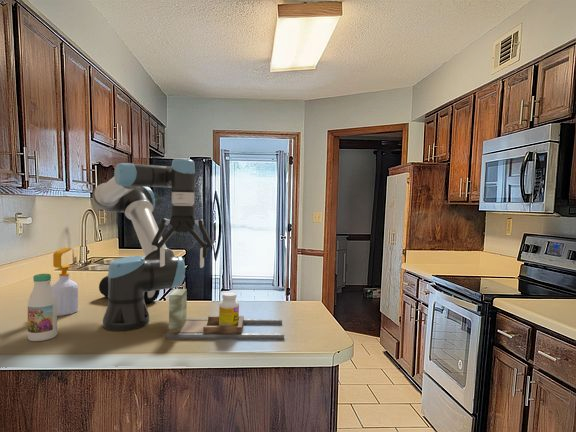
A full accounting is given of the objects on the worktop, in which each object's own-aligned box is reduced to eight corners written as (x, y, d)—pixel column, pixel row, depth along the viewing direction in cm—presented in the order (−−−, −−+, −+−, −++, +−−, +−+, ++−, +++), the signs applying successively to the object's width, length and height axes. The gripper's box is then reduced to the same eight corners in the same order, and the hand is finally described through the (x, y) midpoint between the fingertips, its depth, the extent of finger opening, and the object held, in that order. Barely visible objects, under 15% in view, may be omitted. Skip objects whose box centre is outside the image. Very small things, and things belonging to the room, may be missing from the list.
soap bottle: (83, 310, 143) (83, 248, 141) (60, 317, 134) (59, 251, 133) (68, 307, 146) (67, 246, 145) (44, 313, 138) (44, 249, 137)
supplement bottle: (234, 335, 122) (235, 297, 122) (215, 333, 124) (216, 295, 123) (240, 328, 129) (241, 292, 128) (222, 326, 130) (223, 290, 129)
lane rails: (165, 339, 117) (165, 334, 117) (177, 322, 133) (177, 318, 133) (284, 339, 120) (284, 334, 120) (281, 323, 135) (282, 319, 135)
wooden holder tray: (165, 335, 119) (166, 296, 119) (174, 323, 131) (174, 287, 130) (241, 336, 121) (242, 297, 120) (243, 324, 132) (244, 288, 132)
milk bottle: (37, 332, 120) (36, 272, 119) (61, 332, 120) (61, 272, 119) (22, 342, 112) (21, 277, 111) (48, 342, 113) (48, 277, 112)
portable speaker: (161, 300, 160) (161, 277, 159) (145, 306, 151) (145, 282, 150) (114, 293, 168) (114, 272, 168) (97, 299, 159) (97, 276, 158)
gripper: (142, 204, 121) (141, 267, 122) (217, 206, 122) (216, 269, 123) (150, 203, 129) (149, 263, 130) (221, 205, 129) (220, 265, 130)
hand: (182, 266), depth 126 cm, fingers open, 13 cm apart
